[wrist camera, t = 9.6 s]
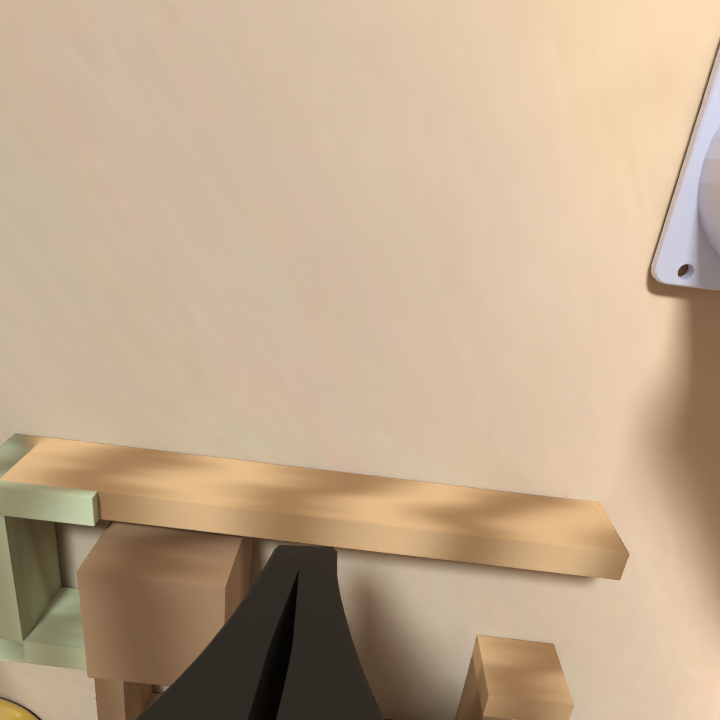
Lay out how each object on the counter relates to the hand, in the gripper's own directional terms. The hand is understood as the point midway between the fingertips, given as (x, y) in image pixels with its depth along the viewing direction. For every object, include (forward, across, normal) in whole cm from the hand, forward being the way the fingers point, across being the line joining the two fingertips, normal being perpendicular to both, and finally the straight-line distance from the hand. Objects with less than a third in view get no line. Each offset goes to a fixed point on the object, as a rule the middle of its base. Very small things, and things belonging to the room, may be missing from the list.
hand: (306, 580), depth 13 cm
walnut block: (+10, +6, +7) cm, 13 cm away
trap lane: (+9, +2, +11) cm, 14 cm away
